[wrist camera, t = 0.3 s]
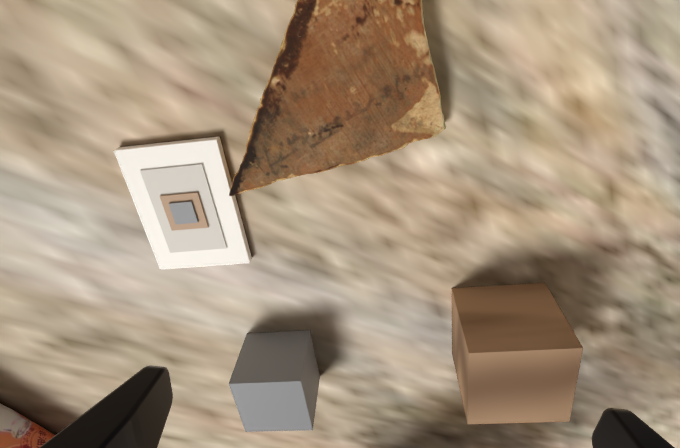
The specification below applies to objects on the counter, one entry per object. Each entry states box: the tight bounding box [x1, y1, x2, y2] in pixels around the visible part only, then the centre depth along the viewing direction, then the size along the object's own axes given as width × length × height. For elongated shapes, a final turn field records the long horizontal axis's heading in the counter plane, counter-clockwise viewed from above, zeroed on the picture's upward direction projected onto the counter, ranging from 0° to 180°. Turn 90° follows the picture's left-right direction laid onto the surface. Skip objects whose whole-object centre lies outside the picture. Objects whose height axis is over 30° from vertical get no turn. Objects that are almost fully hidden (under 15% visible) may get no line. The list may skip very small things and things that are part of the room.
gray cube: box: [229, 330, 320, 432], centre depth 26 cm, size 4×4×4 cm
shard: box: [229, 0, 446, 196], centre depth 19 cm, size 11×8×2 cm
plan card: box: [114, 136, 252, 270], centre depth 22 cm, size 7×5×1 cm
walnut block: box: [452, 282, 583, 424], centre depth 23 cm, size 5×5×5 cm
